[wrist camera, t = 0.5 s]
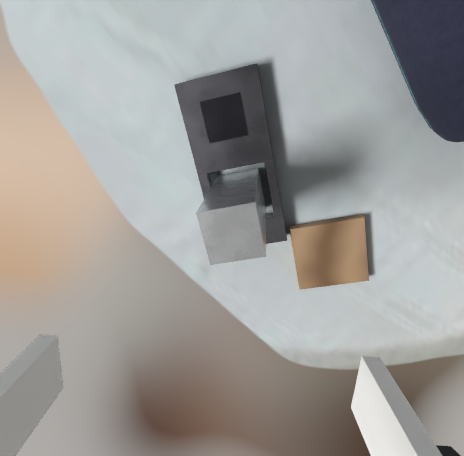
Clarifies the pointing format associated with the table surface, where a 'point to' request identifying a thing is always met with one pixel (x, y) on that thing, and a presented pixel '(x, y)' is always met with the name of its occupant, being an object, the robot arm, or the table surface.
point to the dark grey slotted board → (230, 131)
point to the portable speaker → (430, 57)
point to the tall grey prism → (234, 218)
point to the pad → (330, 251)
